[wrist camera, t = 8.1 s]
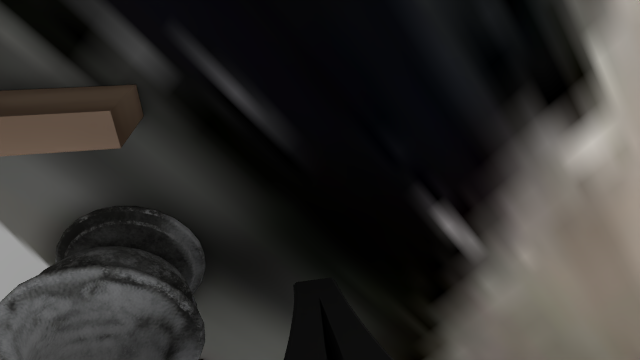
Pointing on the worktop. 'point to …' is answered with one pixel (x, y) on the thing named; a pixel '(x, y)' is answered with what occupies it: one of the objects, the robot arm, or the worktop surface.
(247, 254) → the worktop surface
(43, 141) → the walnut corral
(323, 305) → the robot arm
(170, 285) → the grey stone vase
